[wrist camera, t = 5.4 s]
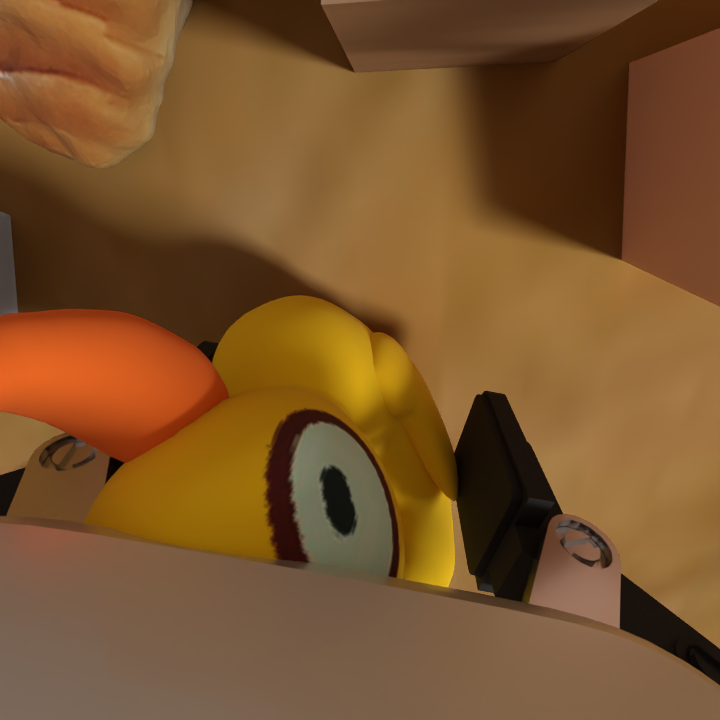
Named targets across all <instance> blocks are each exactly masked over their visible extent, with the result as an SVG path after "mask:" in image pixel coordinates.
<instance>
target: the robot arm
mask: <svg viewBox="0 0 720 720" xmlns="http://www.w3.org/2000/svg"><path fill="white" fill-rule="evenodd" d="M217 346H218V343H212V342H207V341H204V342H202V343H201V344H200V345H199V346H198V347H197V348H198V349H199V350H200V351H202V352H203V353H204V355H205V356H206V357H207V358H208V359H209V360H210V361H211V363H212V361H213V357H214V354H215V351H216V349H217ZM454 455H455V460H456V465H457V472H458V496H457V499H456V501H457V507H458V512H459V518H460V524H461V530H462V536H463V541H464V547H465V553H466V559H467V565H468V570H469V572H470V574H471V575H475V577H476V582H477V588H478V590H480V591H486V592H491V593H494V595H495V597H494V596H489V595H484V594H480V593H474V592H469V591H463V590H458V589H453V588H447V587H442V586H437V585H431V584H426V583H421V582H415V581H410V580H405V579H399V578H394V577H388V576H383V575H378V574H372V573H367V572H361V571H356V570H350V569H345V568H339V567H334V566H328V565H323V564H317V563H312V562H299V561H287V560H277V559H268V558H259V557H250V556H242V555H235V554H228V553H221V552H215V551H209V550H203V549H196V548H190V547H184V546H178V545H173V544H168V543H163V542H158V541H154V540H150V539H146V538H142V537H139V536H136V535H132V534H128V533H125V532H122V531H119V530H116V529H113V528H110V527H105V526H98V525H92V524H86V523H84V522H85V519H86V517H87V514H88V512H89V510H90V508H91V506H92V505H93V503H94V501H95V499H96V498H97V496H98V494H99V493H100V491H101V490H102V488H103V487H104V485H105V484H106V483H107V482H108V480H109V479H110V478H111V477H112V475H114V474H115V472H116V471H117V470H118V469H119V468H120V467H121V466H122V465H123V464H124V463H125V462H122V461H120V460H118V459H115V458H113V457H111V456H108V455H106V454H104V453H103V452H101V451H99V450H97V449H96V448H94V447H92V446H91V445H89V444H87V443H85V442H83V441H81V440H79V439H77V438H75V437H74V436H72V435H70V434H68V433H63V434H61V435H58V436H55V437H53V438H51V439H50V440H48V441H46V442H44V443H43V444H42V445H41V446H39V447H38V448H37V449H36V450H35V451H34V453H33V454H32V456H31V457H30V459H29V462H28V464H27V466H26V468H23V469H19V470H16V471H13V472H9V473H6V474H3V475H0V720H720V649H719V648H718V647H717V646H715V645H714V644H713V643H711V642H710V641H709V640H708V639H706V638H705V637H704V636H702V635H701V634H700V633H698V632H697V631H696V630H694V629H693V628H692V627H691V626H689V625H688V624H687V623H685V622H684V621H683V620H681V619H680V618H679V617H677V616H676V615H675V614H674V613H672V612H671V611H670V610H668V609H667V608H666V607H664V606H663V605H662V604H661V603H659V602H658V601H657V600H655V599H654V598H653V597H651V596H650V595H649V594H647V593H646V592H645V591H644V590H642V589H641V588H640V587H638V586H637V585H636V584H634V583H633V582H632V581H630V580H629V579H628V578H627V577H625V576H624V575H623V574H621V561H620V556H619V553H618V551H617V549H616V548H615V546H614V544H613V543H612V542H611V541H610V539H609V538H608V537H607V536H606V535H605V534H604V533H603V532H602V531H601V530H599V529H598V528H597V527H596V526H594V525H593V524H591V523H589V522H588V521H586V520H584V519H582V518H579V517H577V516H573V515H568V514H563V513H562V511H561V508H560V506H559V504H558V502H557V500H556V498H555V496H554V494H553V491H552V489H551V487H550V485H549V483H548V481H547V479H546V477H545V474H544V472H543V470H542V468H541V466H540V464H539V462H538V460H537V457H536V455H535V453H534V451H533V449H532V447H531V445H530V444H529V443H528V442H527V441H526V439H525V436H524V434H523V432H522V430H521V428H520V426H519V423H518V421H517V419H516V417H515V415H514V413H513V410H512V408H511V406H510V404H509V402H508V400H507V397H506V396H505V394H501V393H495V392H490V391H484V392H483V394H482V395H480V394H478V395H476V397H475V399H474V402H473V405H472V407H471V410H470V413H469V415H468V418H467V421H466V423H465V426H464V429H463V431H462V434H461V437H460V439H459V442H458V445H457V448H456V450H455V453H454Z"/></svg>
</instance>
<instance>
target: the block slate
mask: <svg viewBox="0 0 720 720" xmlns="http://www.w3.org/2000/svg"><path fill="white" fill-rule="evenodd" d="M12 313H18V306H17V293H16V280H15V268H14V255H13V242H12V229H11V217H10V215H8V214H6V213H3V212H1V211H0V316H1V315H6V314H12Z"/></svg>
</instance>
